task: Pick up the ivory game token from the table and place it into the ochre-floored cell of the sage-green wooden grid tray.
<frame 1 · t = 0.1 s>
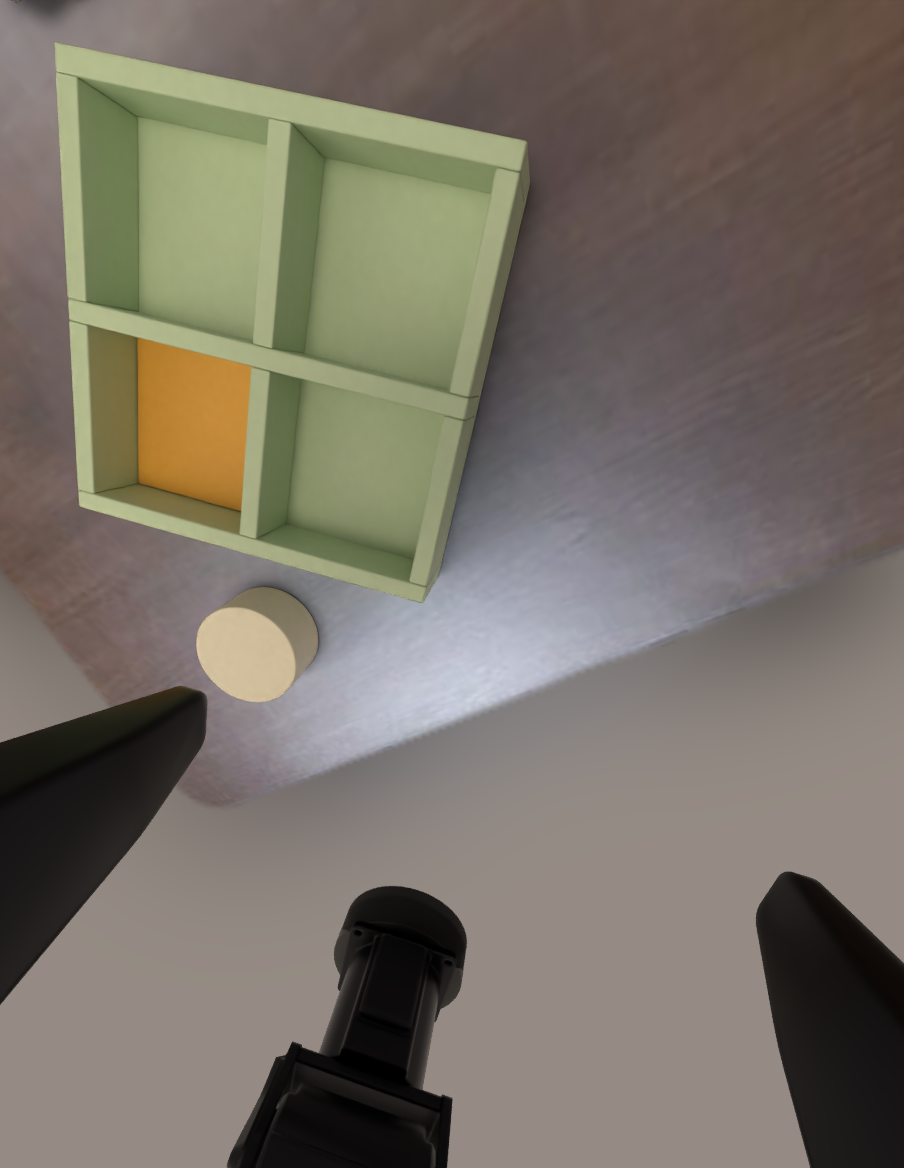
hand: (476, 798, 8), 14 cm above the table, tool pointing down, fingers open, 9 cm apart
token: (272, 632, 24), on the table
grid: (300, 361, 20), on the table
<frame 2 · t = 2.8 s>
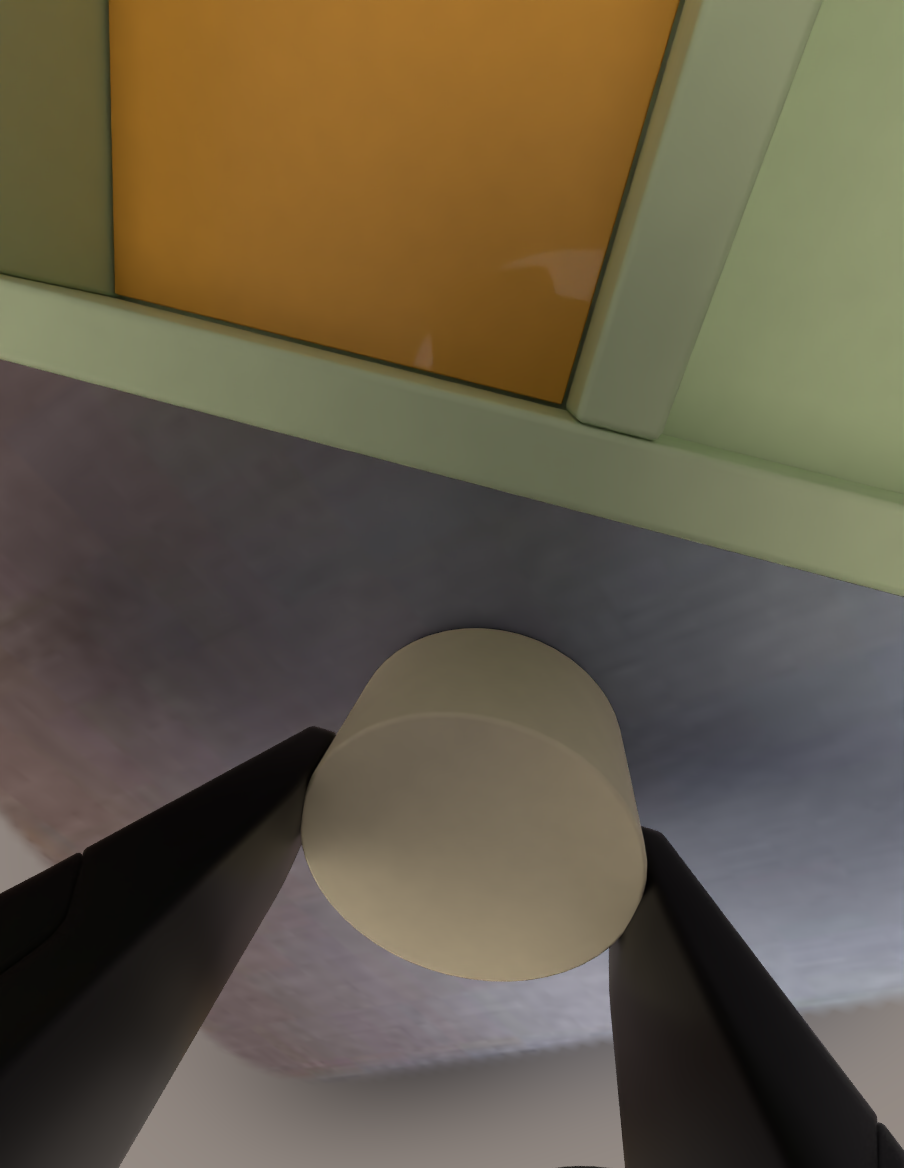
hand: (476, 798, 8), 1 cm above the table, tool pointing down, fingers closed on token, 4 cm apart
token: (483, 746, 9), on the table, touching gripper
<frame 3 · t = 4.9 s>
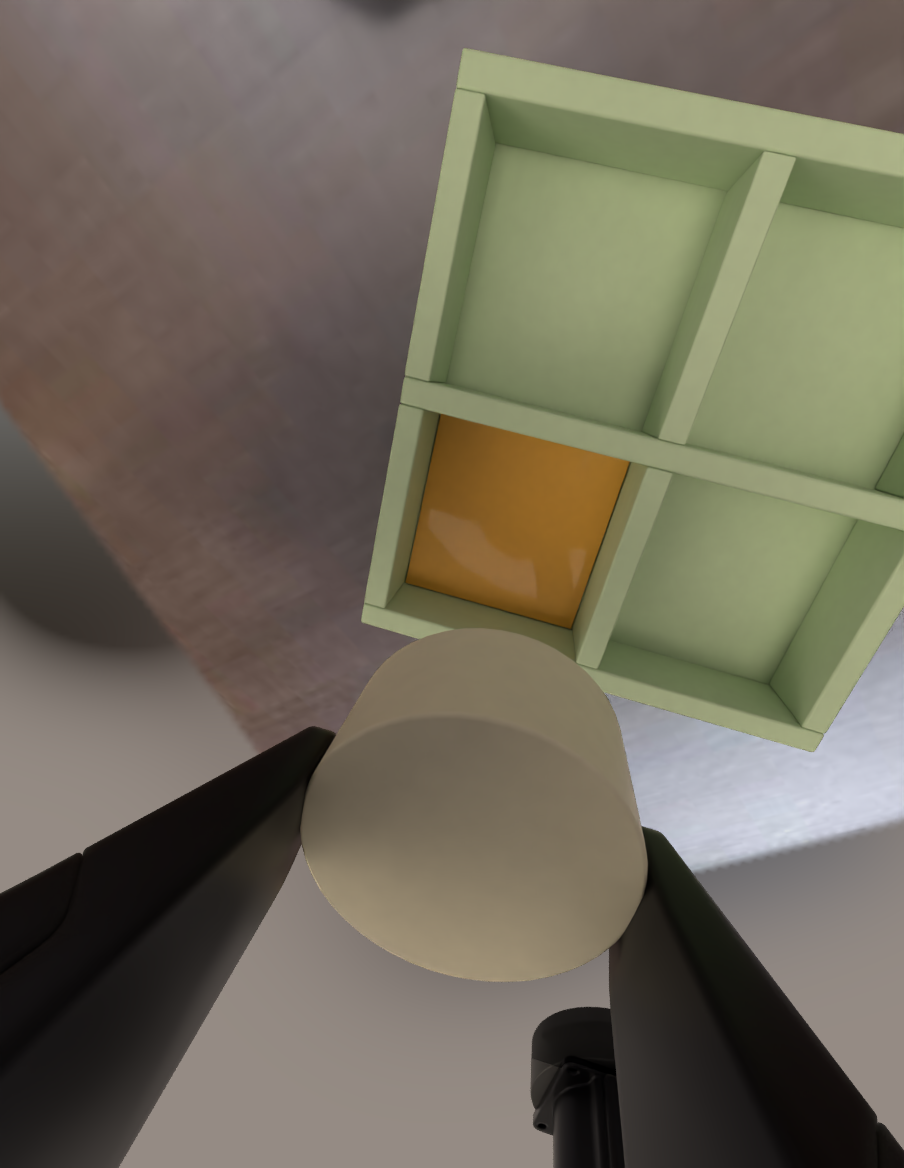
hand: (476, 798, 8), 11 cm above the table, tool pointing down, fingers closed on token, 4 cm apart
token: (484, 746, 9), point 10 cm above the table, touching gripper
grid: (645, 444, 16), on the table
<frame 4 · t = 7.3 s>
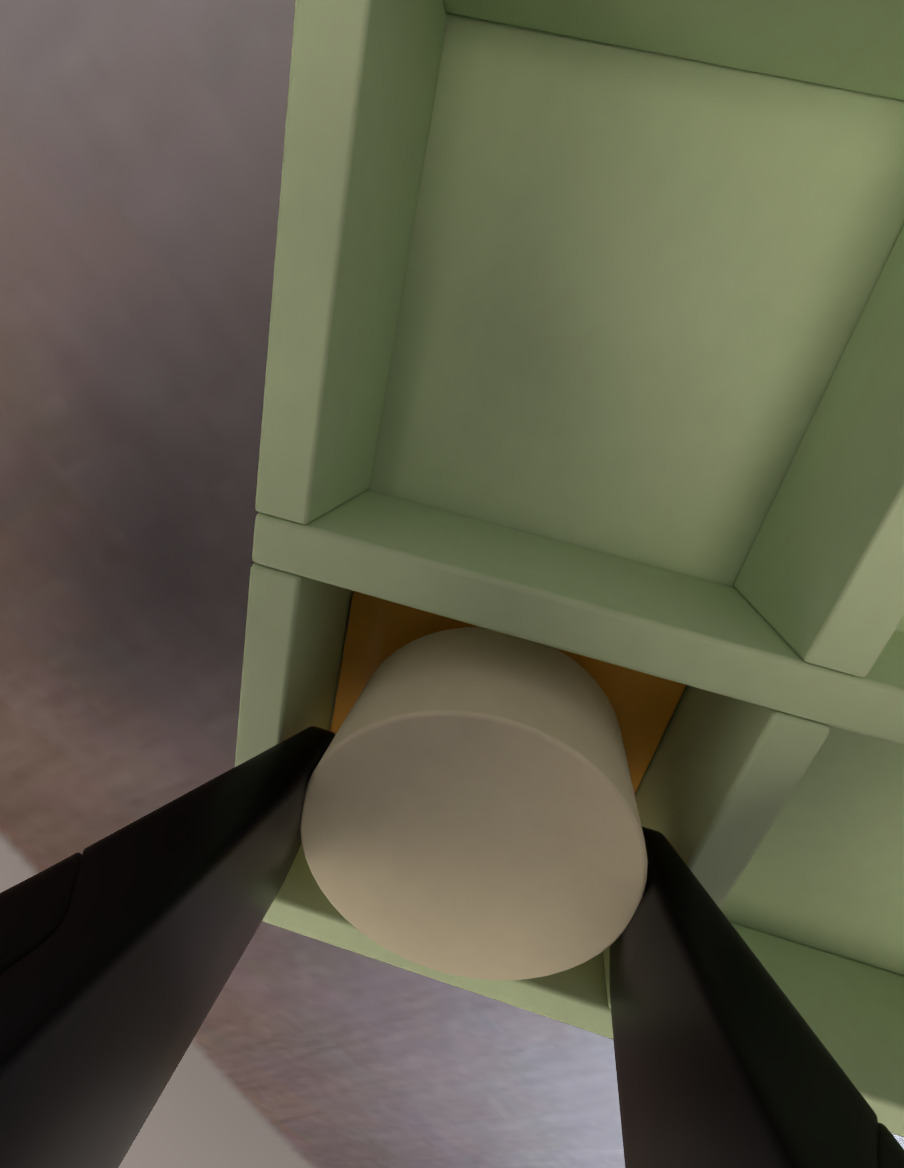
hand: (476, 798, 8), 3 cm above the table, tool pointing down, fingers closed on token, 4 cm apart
token: (483, 745, 9), point 1 cm above the table, touching gripper
grid: (733, 599, 9), on the table
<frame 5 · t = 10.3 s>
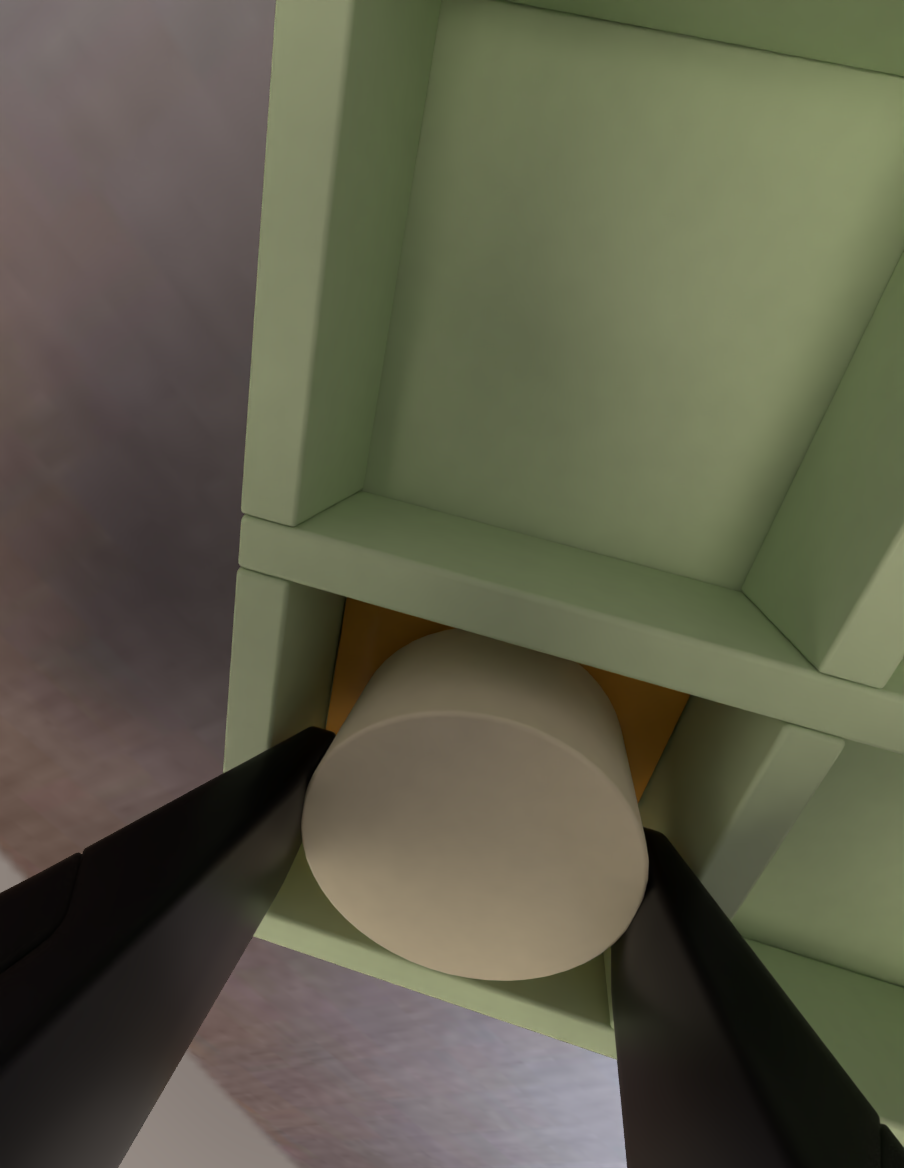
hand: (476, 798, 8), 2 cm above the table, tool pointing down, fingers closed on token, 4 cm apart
token: (484, 745, 9), point 1 cm above the table, touching gripper
grid: (740, 603, 8), on the table
when the fingers open (3 cm above the table, at t = 12.7 s): token drops 1 cm, resting on grid.
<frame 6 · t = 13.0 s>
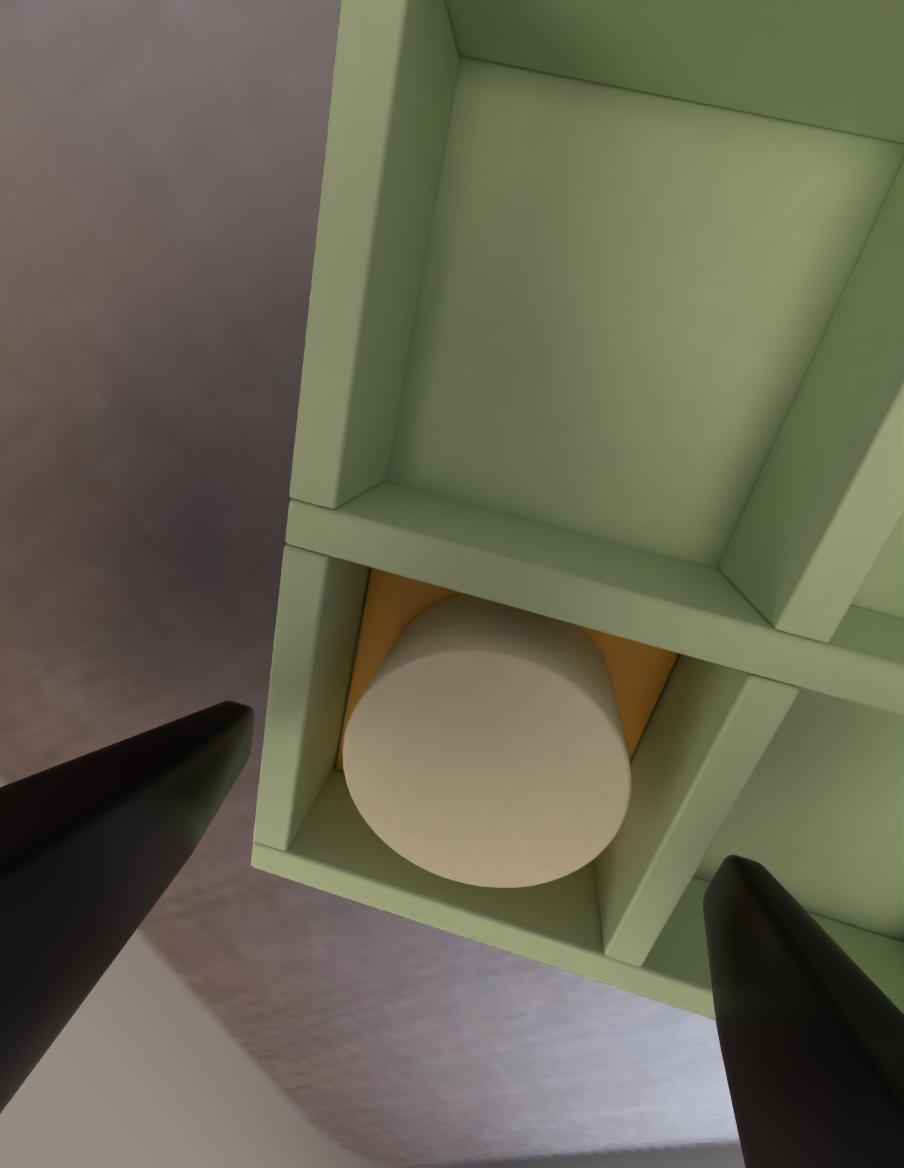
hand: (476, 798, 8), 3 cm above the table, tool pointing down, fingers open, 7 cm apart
token: (494, 698, 10), point 1 cm above the table, touching grid
grid: (719, 582, 10), on the table
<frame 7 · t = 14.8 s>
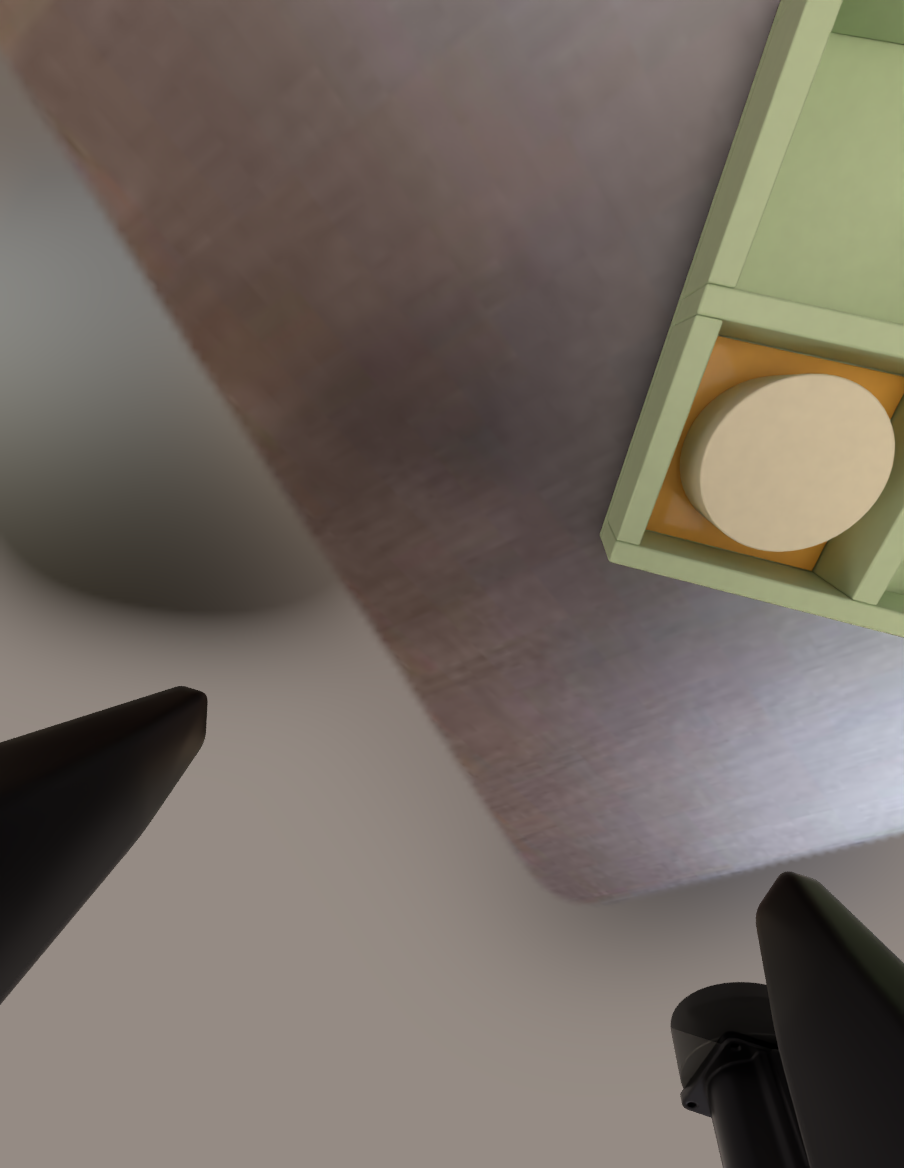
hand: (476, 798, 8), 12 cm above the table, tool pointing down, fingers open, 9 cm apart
token: (759, 456, 16), point 1 cm above the table, touching grid
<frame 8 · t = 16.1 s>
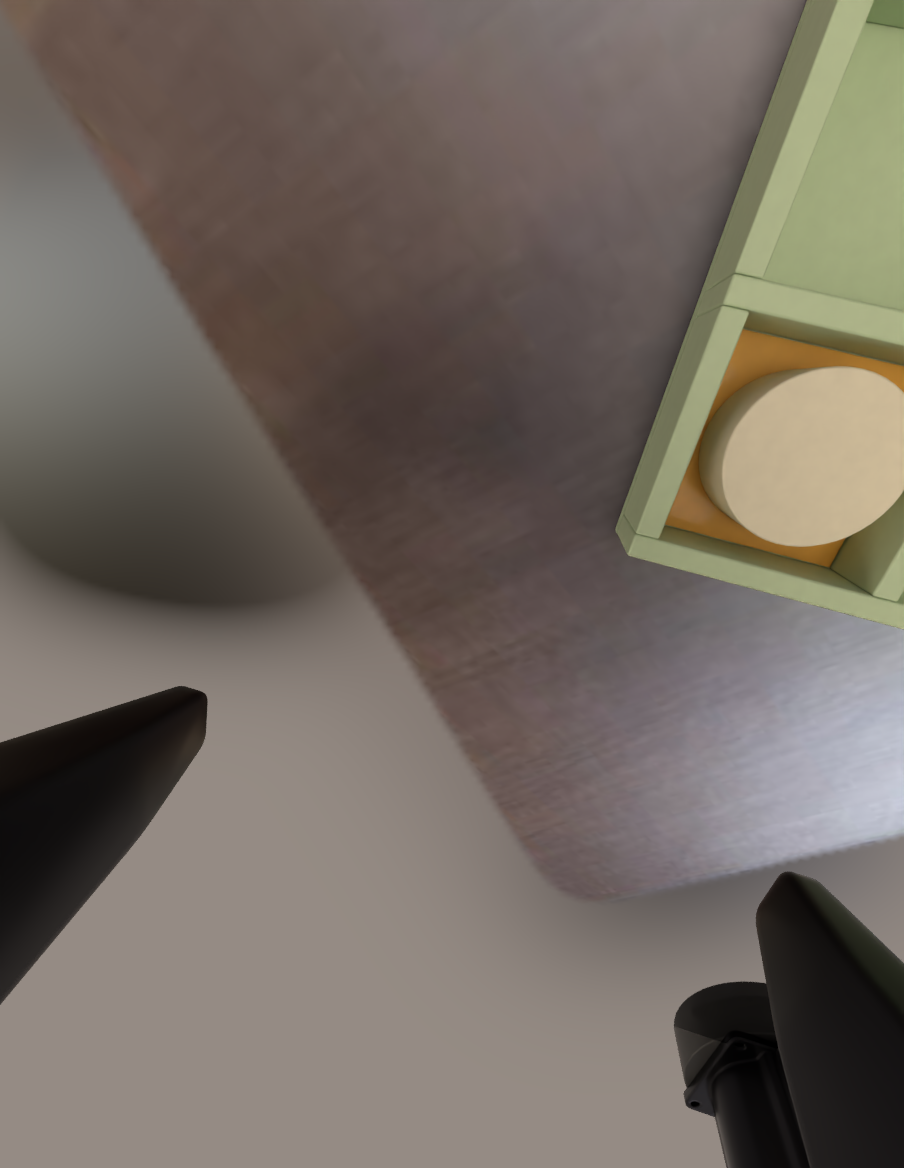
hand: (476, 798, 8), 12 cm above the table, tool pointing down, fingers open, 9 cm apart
token: (779, 451, 16), point 1 cm above the table, touching grid
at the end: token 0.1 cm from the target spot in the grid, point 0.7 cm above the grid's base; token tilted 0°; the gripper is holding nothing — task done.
